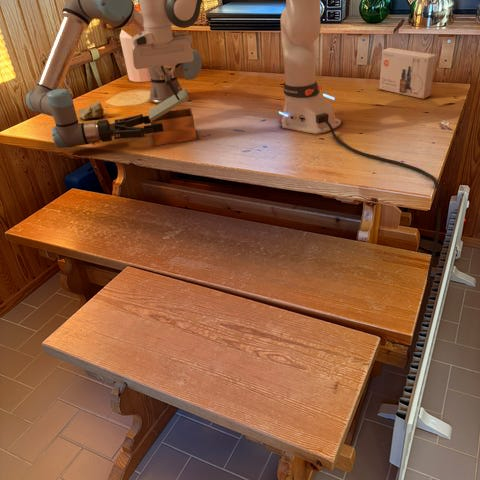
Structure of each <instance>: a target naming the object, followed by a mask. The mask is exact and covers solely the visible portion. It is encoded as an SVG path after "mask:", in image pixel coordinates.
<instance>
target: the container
mask: <svg viewBox="0 0 480 480" xmlns="http://www.w3.org/2000/svg"><path fill="white" fill-rule="evenodd" d="M120 30H121V31H120V33H119V41H120V45H121V49H122V54H123V59H124V63H125V68H126V72H127V77H128V80H129V81H130V82H134V83H144V82H151V78H150V74H149V69H148V68H143V69H136V68H135V67H134V65H133V57H132V49H133V46H134V44H133V41H132V37H131V36H130V35H128V34H127V33H126V32H125V31H123V30H122V29H120Z"/></svg>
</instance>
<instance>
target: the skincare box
mask: <svg viewBox="0 0 480 480" xmlns="http://www.w3.org/2000/svg"><path fill="white" fill-rule="evenodd" d="M436 57H437V54H435V53H427V52H423V51H422V52H420V51H413V50H407V49H400V48H395V47H394V48H393V47H387V48H385V49H382V50H381V61H380V74H379V86H378V87H379V88H378V89H379V90H383V91H387V92H391V93H395V94H399V95H405V96H409V97H414V98H418V99H422V100H424V99H426V98H428V97H430V96H431V91H432V86H433V85H432V84H433V78H434V73H435V72H434V71H435V70H434V69H435V64H436Z"/></svg>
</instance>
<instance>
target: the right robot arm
mask: <svg viewBox="0 0 480 480" xmlns="http://www.w3.org/2000/svg"><path fill="white" fill-rule="evenodd" d="M202 2H203V0H138V4H139V5H138V6H139V10H140V11H139V12H140V13H141V14H142V16H143V20H144V31H143V32H141V33H139V34H137V35H135V36H133V38H132V41H133V44H134V46H133V49H132V57H133V65H134V67H135V68H136V69H143V68H150V67H155V71H156V72H157V73H158V74H159V76H160V80H163V79H164V74H163V73H160V71H159V66H164V65H171V68H172V69H171V72H169V78H174V76H173V72H174V70H175V64H178V63H185V62H192V61H193V59H194V56H193V51H192V49H193V48H192V44H193V38H192V35H191V34H190V33H189V32H187V31H182V32H173V28H172V26H173V25H174V26H175V27H177V28H180V29H188V28H190V27H192V26H194V25H195V24H196V23H197V21H198V20H199V17H200V13H201V7H202V4H203V3H202ZM321 25H322V24H321V0H285V8H284V9H283V11H282V12H281V14H280V33H281V34H280V35H281V44H282V53H283V67H284V68H283V70H284V82H283V89H282V90H283V94H284V103H283V111H278V114H279V115H281V120H280V121H281V128H282V129H288V130H292V131H298V132H303V133H309V134H313V135H314V134H315V135H319V134H324V133H328V132H331V135H332V136H333V138H334V139H335V141H336V142H337V143H339V144H340V145H341V146H343V147H344V148H346V149H348V150H349V151H351V152H353V153H356V154H358V155H361V156H363V157H367V158H371V159H374V160H378V161H382V162H385V163H390V164H394V165H398V166H401V167H404V168H407V169H410V170H413V171H416V172H418V173H420V174H422V175H423V176H425V177H427V178H429V179H431V181H432V182H433V184H434V187H435V189H436V190H438V191H439V190H441V187H440V185H439V183H438V180H437V179H436V177H435V176H434V175H433V174H431V173H429V172H427V171H425V170H423V169H422V168H419V167H417V166H414V165H411V164H407V163H404V162H402V161H398V160H394V159H390V158H385V157H381V156H378V155H374V154H370V153H366V152H363V151H360V150H358V149H355V148H354V147H351V146H350V145H348V144H346V143H345V142H344V141H342V140H341V139H339V138H338V136H337V134H336V132H335V131H334V130H335V129H337V128H338V127H339V126H340V125H341V124H342V120H341V119H340V118H337V117H336V116H335V110H334V109H335V108H334V106H333V105H332V104H331V103H330V102H329V101H328V100H327V99H330V100H333V101H335V99H336V98H335V97H334V96H331V95H328V94H326V93H323V94H321V93H320V90H321V89H322V86H323V85H322V84H320V85H319V84H318V81H317V57H316V50H315V42H316V40H318V38H319V36H320V34H321V30H322V27H321ZM326 98H327V99H326ZM441 220H442V206H440V207H439V208H438V209H437V217H436V229H435V235H434V241H433V247H432V251H431V255H430V260H429V264H428V269H427V276H426V281H427V282H431V276H432V270H433V265H434V260H435V256H436V252H437V247H438V243H439V237H440V231H441V230H440V229H441Z"/></svg>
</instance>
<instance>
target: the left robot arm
mask: <svg viewBox="0 0 480 480" xmlns="http://www.w3.org/2000/svg"><path fill="white" fill-rule="evenodd" d="M60 15H61V17H62V20H61V22H60V25H59V27H58V29H57V32H56V35H55V37H54V40H53V43H52V45H51V47H50V50H49V53H48V55H47V58H46V60H45V62H44V65H43V67H42V71H41V73H40V76H39V78H38V81H37V84H36V86H35V88H34V89H32V90H30V91H28V92H27V93H26V95H25V104H26V106H27V107H28V109H29V110H31V111H33V112H35V113H37V114H42V115H46V116H49V117H52V118H53V120H54V123H55V126H53V127H52V128H51V136H52V140H53V144H54V145H55V147H57V148H58V149H64V148H65V149H66V148H75V147H81V146H86V145H93V146H94V145H96V144H99V143H101V142H102V143H106V142H112V141H113V138H114V140H120V139H136V138H145V137H146V135H147V134H149V135H150V134H153V133H156V132H163V125H162V123H161V124H154V125H151V121H150V119H149V115H144V116H143V113H139V114H137V115H133V116H127V117H124V118H118V119H114V122H113V123H110V121H109V120H108V119H100V120H97V121H96V120H92V121H86V122H79V120H78V115H77V112H76V109H75V108H76V107H75V105H74V104H75V103H74V100H73V98H72V95H71V93H70V91H69V90H68V89H67V88H62V86H63V83H64V81H65V79H66V76H67V73H68V71H69V69H70V65H71V63H72V61H73V59H74V56H75V54H76V51H77V48H78V46H79V43H80V41H81V38H82V36H83V33H84V31H85V30H87V29H89V26H90V24H91V23H92V21H93V20H101V21H103V22H104V23H105V24H107V25H108V26H109V27H111V28H112V29H114V30H123V31H125V32H126V33H127V34H128V35H130V36H131V37H132V38H133V36H135V35H137V34H139V33H141V32H143V31H144V20H143V16H142V14H141V12H140V11H138V10H137V8H135V3H134V0H65V3H64V5H63V8H62V11H61V14H60ZM192 51H193V56H194V59H193V61H192V62H185V63H178V64H175V70H174V72H173V76H174V78H170V80H171V82H172V84H173V86H174V87H175V89H176V90H177V92H180V91H181V90H183V88H182V84H180V82H179V80H178V79H182V80H186V81H188V80H189V81H191V80H195V79H196V78H198V77H199V76H200V73H201V71H202V66H203V65H202V64H203V63H202V61H203V59H202V56H201V54H200V53H199V51H198V50H196V49H193V48H192ZM148 69H149V74H150V78H151V81H150V90H149V91H150V92H149V100H150V102H151V103H152V104H155V105H158V104H160V103H161V102H163V101H165V100H166V99H168V98H170V97H171V96H173V95H175V94H174V93H173V91H172V90H171V88H170V86H169V85H167V84H166V81H165V75H166V74H168V75H169V72H171V69H172V68H171V65H164V66H159V71H160V73H163V74H164V79H163V80H160V76H159V74H158V73H157V72H156V71H155V67H150V68H148ZM142 124H144V125H143V126H140V125H142Z"/></svg>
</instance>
